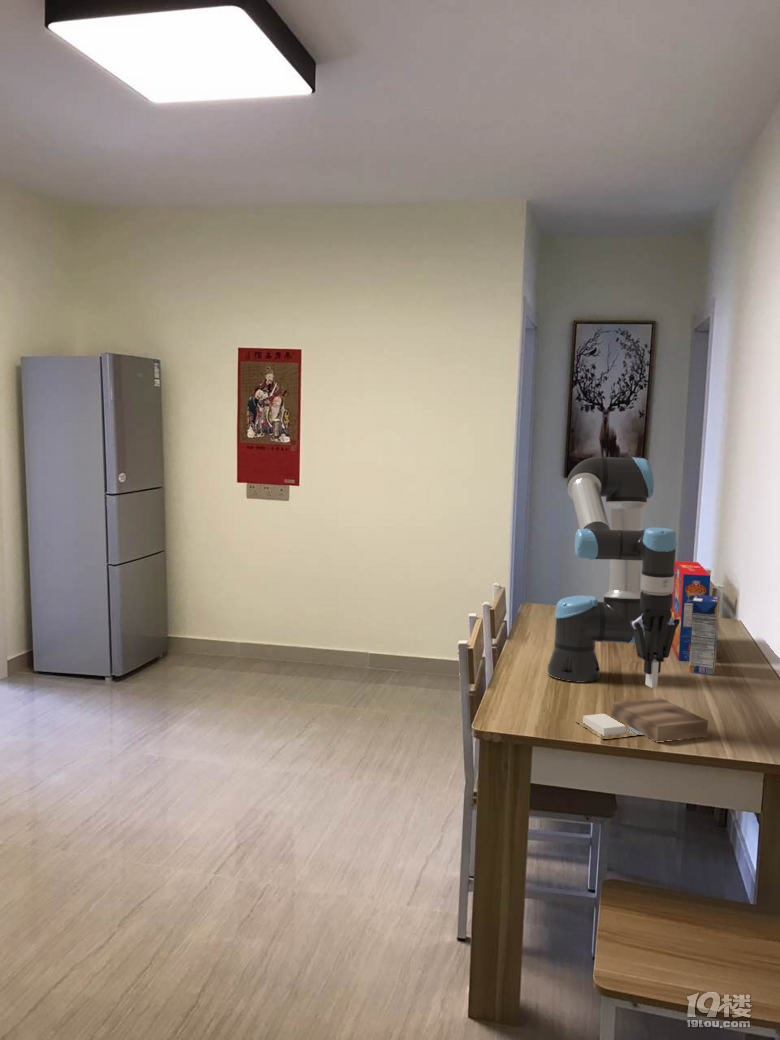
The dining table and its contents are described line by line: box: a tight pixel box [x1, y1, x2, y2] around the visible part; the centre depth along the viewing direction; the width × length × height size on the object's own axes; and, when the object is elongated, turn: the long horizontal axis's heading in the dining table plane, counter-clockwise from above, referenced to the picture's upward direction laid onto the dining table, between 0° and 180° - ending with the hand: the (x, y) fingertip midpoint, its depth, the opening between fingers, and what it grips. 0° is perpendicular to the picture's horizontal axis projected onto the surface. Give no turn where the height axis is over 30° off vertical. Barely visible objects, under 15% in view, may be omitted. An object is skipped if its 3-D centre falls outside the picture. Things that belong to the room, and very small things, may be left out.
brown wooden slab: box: [612, 696, 709, 741], centre depth 202 cm, size 18×14×4 cm
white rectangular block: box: [582, 713, 626, 736], centre depth 199 cm, size 9×6×2 cm, turn 19°
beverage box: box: [688, 595, 720, 676], centre depth 252 cm, size 7×11×22 cm, turn 155°
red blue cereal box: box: [671, 560, 711, 663], centre depth 274 cm, size 28×8×28 cm, turn 167°
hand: (651, 686), depth 204 cm, fingers closed
